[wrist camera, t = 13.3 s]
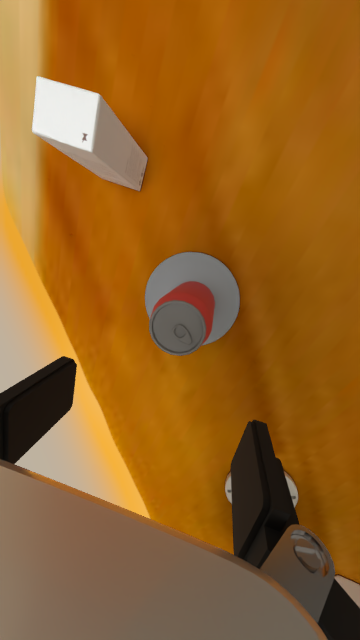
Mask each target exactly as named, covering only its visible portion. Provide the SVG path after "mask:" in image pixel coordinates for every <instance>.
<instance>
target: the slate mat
mask: <svg viewBox="0 0 360 640" xmlns="http://www.w3.org/2000/svg"><path fill="white" fill-rule="evenodd" d="M188 281H195V282H199V283H202V284H204V285H205V286H206V287H208V288H209V289H210V291H211V292H212V294H213V296H214V300H215V308H214V316H213V324H212V331H211V333H210V335H209V337H208V339H207V340H206V341H205V342H204V343H203V344H202V345H205V344H209V343H211V342H214V341H215V340H217V339H219V338H220V337H222V336H223V335H224V334H225V333H226V332H227V331H228V330H229V329H230V328H231V326H232V325H233V323H234V321H235V319H236V317H237V314H238V311H239V305H240V296H239V290H238V286H237V283H236V281H235V278H234V277H233V275H232V273H231V272H230V271H229V269H228V268H227V267H226V266H225V265H224V264H223V263H222V262H220V261H219V260H217V259H216V258H214V257H212V256H209V255H207V254H203V253H197V252H185V253H180V254H177V255H174V256H172V257H170V258H168V259H166V260H165V261H163V262H162V263H161V264H160V265H159V266H158V267H157V268H156V269H155V270H154V271H153V273H152V275H151V276H150V278H149V281H148V283H147V286H146V292H145V305H146V310H147V313H148V316H149V318H150V319H151V314H152V311H153V308H154V306H155V304H156V303H157V302H158V301H159V299H160V298H162V297H163V296H164V295H166V294H167V293H169V292H170V291H171V290H173V289H174V288H176V287H177V286H179V285H180V284H182V283H184V282H188Z"/></svg>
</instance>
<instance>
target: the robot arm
mask: <svg viewBox="0 0 360 640" xmlns="http://www.w3.org/2000/svg"><path fill="white" fill-rule="evenodd" d="M76 367H77V364H76V363H75V361H74V360H73V359H71V358H68V357H65V356H63V357H61V358H59V359H57V360H56V361H54V362H52V363H51V364H49V365H47V366H46V367H44V368H42V369H40V370H39V371H37V372H36V373H34V374H32V375H31V376H29V377H27V378H25V379H24V380H22V381H20V382H19V383H17V384H15V385H14V386H12V387H10V388H9V389H7V390H5V391H4V392H2V393H0V640H360V608H359V607H358V605H357V604H356V603H355V602H354V601H353V600H352V598H351V597H350V596H349V595H348V594H347V592H346V591H345V590H344V589H343V588H342V587H341V585H340V584H339V583H338V582H337V581H336V579H335V578H334V575H335V569H334V564H333V561H332V559H331V556H330V554H329V552H328V550H327V549H326V547H325V546H324V544H323V543H322V542H321V541H320V539H319V538H318V537H317V536H316V535H315V534H314V533H313V532H311V531H310V530H309V529H307V528H305V527H304V526H301V525H299V521H298V518H297V515H296V511H295V506H296V504H297V501H298V491H297V488H296V485H295V483H294V481H293V479H292V478H291V477H290V476H289V475H288V474H287V473H286V472H285V471H284V470H283V466H282V463H281V461H280V460H279V459H278V458H276V457H275V454H274V450H273V446H272V442H271V439H270V435H269V431H268V428H267V425H266V423H263V422H260V421H257V420H253V421H252V422H250V421H249V422H248V424H247V426H246V429H245V431H244V434H243V436H242V438H241V441H240V443H239V445H238V448H237V450H236V453H235V455H234V457H233V460H232V463H231V472H230V473H229V474H228V476H227V478H226V482H225V492H226V496H227V498H228V500H229V501H230V503H231V504H232V518H233V544H234V555H232V554H230V553H228V552H226V551H224V550H222V549H220V548H217V547H215V546H213V545H210V544H208V543H206V542H203V541H201V540H199V539H197V538H194V537H192V536H190V535H187V534H185V533H183V532H180V531H178V530H175V529H173V528H170V527H168V526H166V525H163V524H161V523H158V522H156V521H153V520H151V519H149V518H146V517H144V516H141V515H139V514H136V513H134V512H132V511H129V510H127V509H124V508H122V507H119V506H117V505H114V504H112V503H109V502H107V501H105V500H102V499H100V498H97V497H95V496H92V495H90V494H87V493H85V492H82V491H80V490H77V489H75V488H72V487H70V486H67V485H65V484H62V483H60V482H57V481H55V480H52V479H50V478H47V477H44V476H42V475H40V474H37V473H35V472H32V471H30V470H27V469H25V468H22V467H20V466H17V465H15V463H16V462H17V461H18V460H19V459H20V458H21V457H22V456H23V455H24V454H25V453H26V452H27V451H28V450H29V449H30V448H31V447H32V446H33V445H34V444H35V443H36V442H37V441H38V440H39V439H40V438H41V437H42V436H44V435H45V434H46V433H47V432H48V430H50V429H51V427H53V426H54V425H55V424H56V423H57V422H58V421H59V420H60V419H61V418H62V417H63V416H64V415H65V414H66V413H67V412H68V411H69V410H70V408H71V407H72V404H73V394H74V386H75V375H76Z"/></svg>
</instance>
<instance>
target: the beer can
mask: <svg viewBox="0 0 360 640" xmlns="http://www.w3.org/2000/svg"><path fill="white" fill-rule="evenodd" d="M214 308H215V300H214V296H213V294H212V292H211V291H210V289H209V288H208V287H206V286H205V285H204V284H202V283H199V282H195V281H188V282H184V283H182V284H180V285H179V286H177V287H176V288H174V289H173V290H171V291H170V292H169V293H167V294H166V295H164V296H163V297H162V298H160V299H159V301H158V302H157V303H156V304H155V306H154V308H153V311H152V314H151V319H150V321H149V331H150V334H151V337H152V339H153V341H154V342H155V344H156V345H157V346H158V347H159V348H160V349H161V350H163V351H164V352H167V353H169V354H171V355H178V356H181V355H187V354H190V353H192V352H194V351H196V350H197V349H198V348H199V347H200V346H201V345H202V344H203V343H204V342H205V341H206V340H207V339H208V337H209V335H210V333H211V331H212V324H213V316H214Z"/></svg>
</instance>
